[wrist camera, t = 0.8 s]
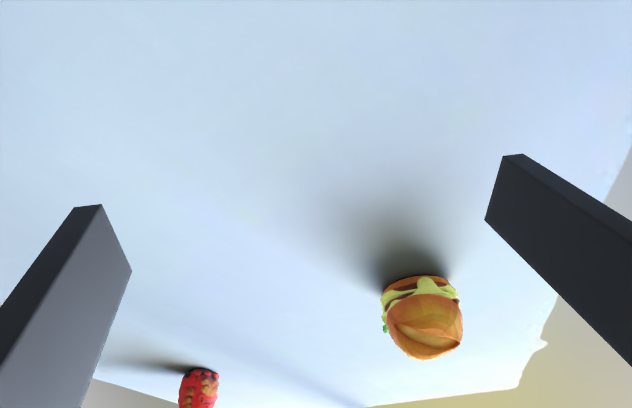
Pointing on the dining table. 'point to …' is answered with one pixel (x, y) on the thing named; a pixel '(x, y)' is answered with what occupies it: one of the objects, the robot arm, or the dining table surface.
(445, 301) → the cheeseburger
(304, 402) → the dining table surface
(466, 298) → the dining table surface
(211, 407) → the red clay folk toy
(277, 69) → the dining table surface
